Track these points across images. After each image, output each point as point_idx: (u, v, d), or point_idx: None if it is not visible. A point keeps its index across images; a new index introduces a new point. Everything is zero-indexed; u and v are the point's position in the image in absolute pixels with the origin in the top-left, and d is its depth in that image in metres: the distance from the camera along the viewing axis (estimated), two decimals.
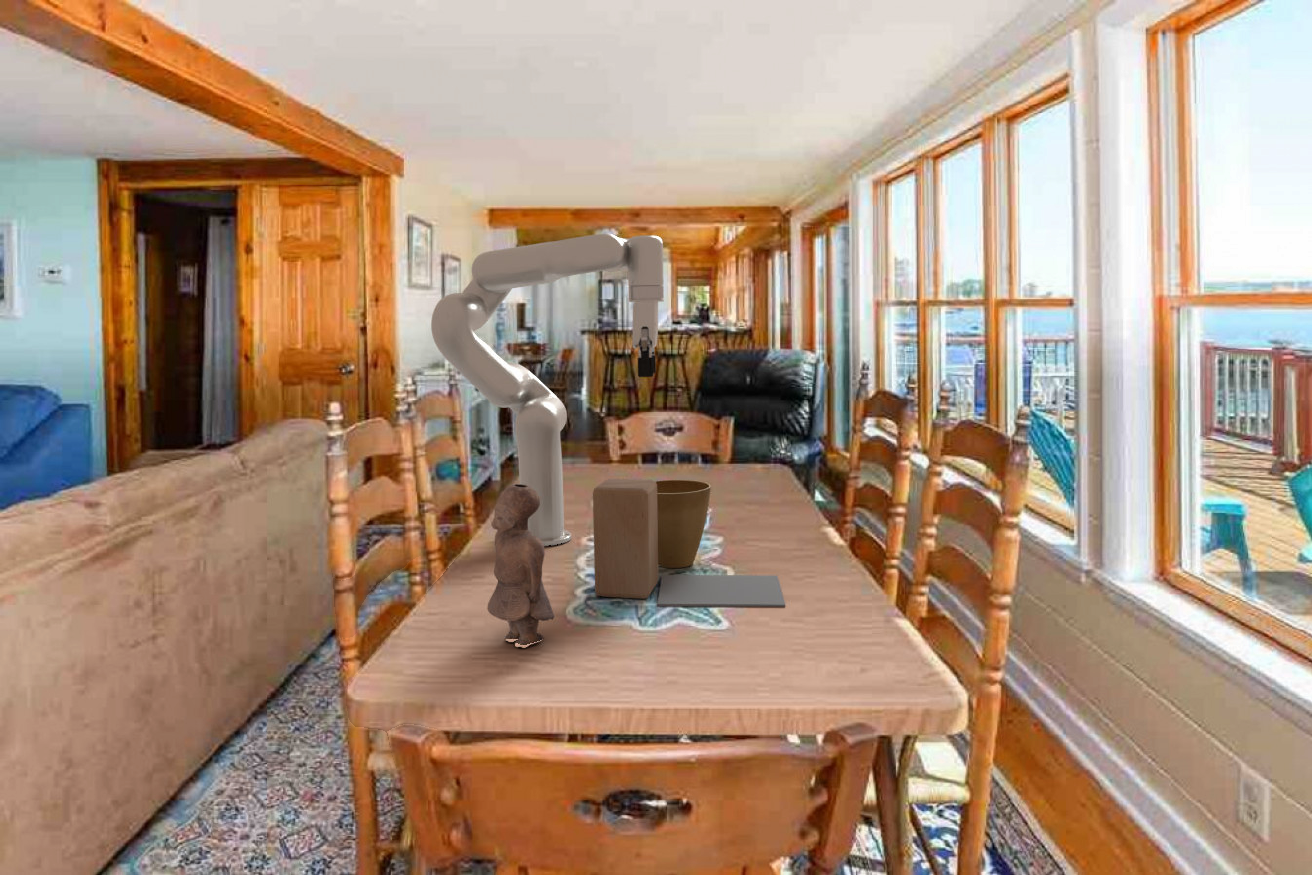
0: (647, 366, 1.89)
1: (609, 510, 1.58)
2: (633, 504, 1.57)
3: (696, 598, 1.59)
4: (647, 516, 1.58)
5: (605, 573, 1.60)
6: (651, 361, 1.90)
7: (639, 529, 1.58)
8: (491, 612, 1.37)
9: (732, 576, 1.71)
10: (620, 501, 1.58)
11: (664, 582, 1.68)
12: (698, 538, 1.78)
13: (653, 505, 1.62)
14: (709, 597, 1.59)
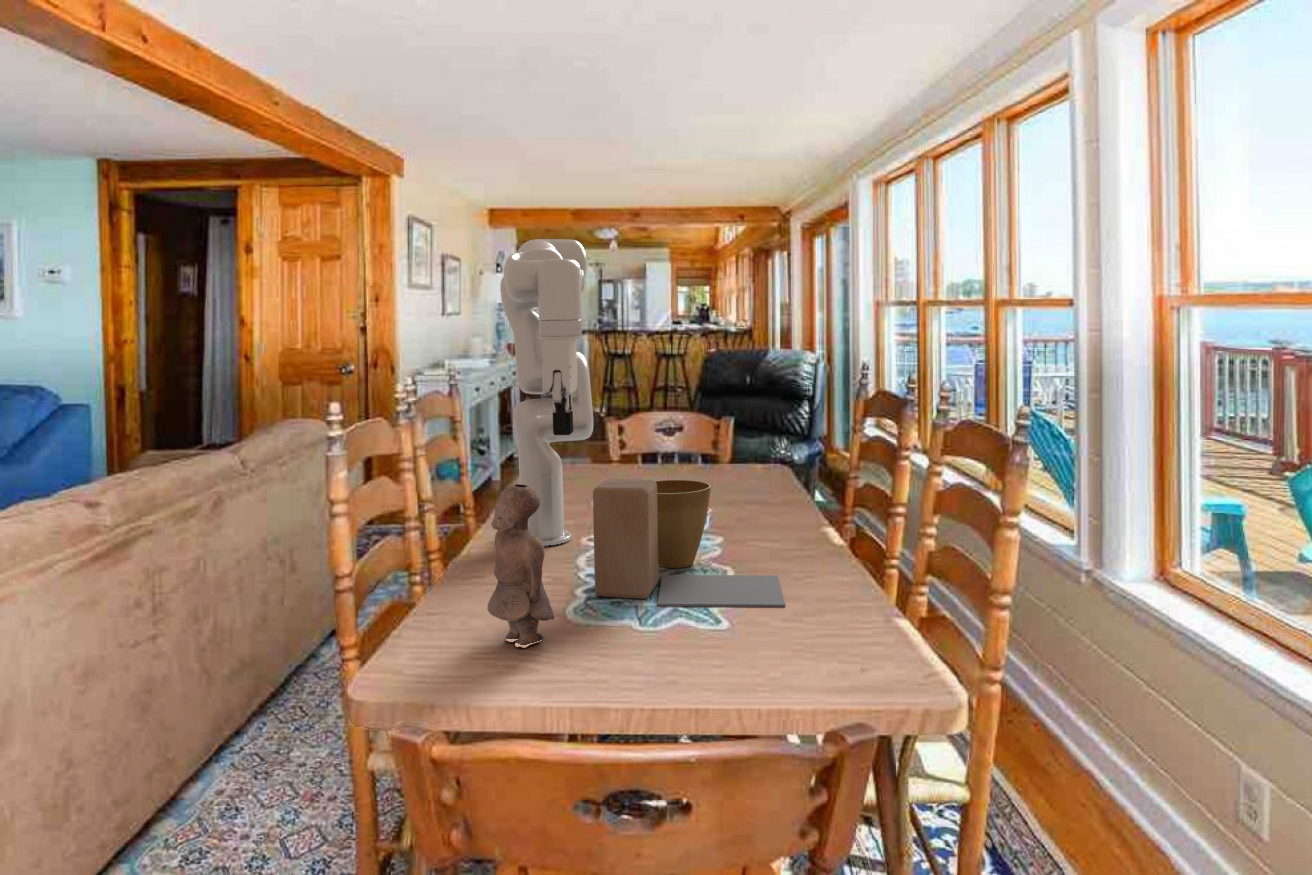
0: (563, 423, 1.59)
1: (609, 510, 1.58)
2: (633, 504, 1.57)
3: (696, 598, 1.59)
4: (647, 516, 1.58)
5: (605, 573, 1.60)
6: (568, 416, 1.60)
7: (639, 529, 1.58)
8: (491, 612, 1.37)
9: (732, 576, 1.71)
10: (620, 501, 1.58)
11: (664, 582, 1.68)
12: (698, 538, 1.78)
13: (653, 505, 1.62)
14: (709, 597, 1.59)
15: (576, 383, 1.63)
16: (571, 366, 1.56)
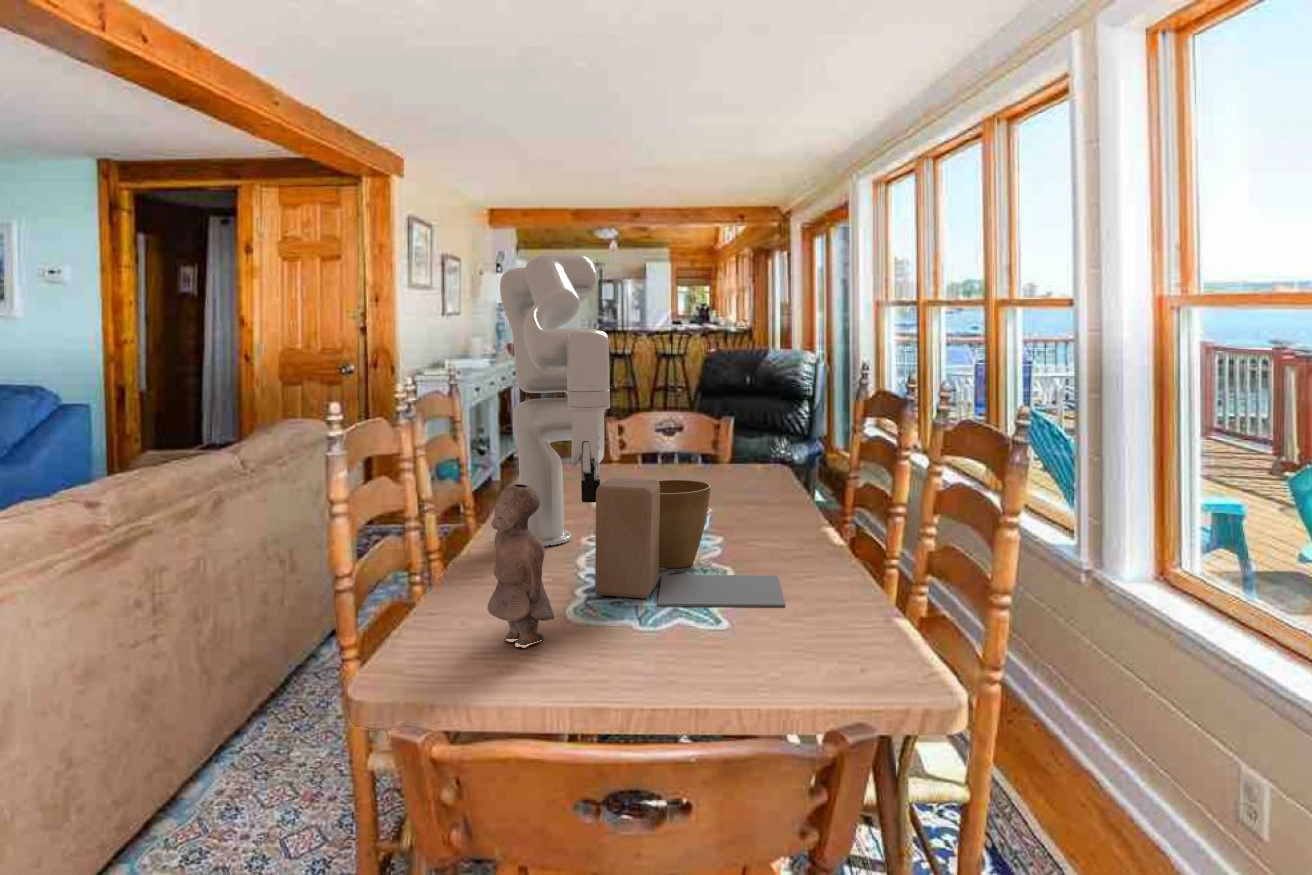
0: (592, 490, 1.61)
1: (611, 508, 1.58)
2: (636, 504, 1.57)
3: (696, 598, 1.59)
4: (650, 516, 1.58)
5: (606, 572, 1.60)
6: (597, 484, 1.62)
7: (641, 529, 1.58)
8: (491, 612, 1.37)
9: (732, 576, 1.71)
10: (623, 500, 1.57)
11: (664, 582, 1.68)
12: (698, 538, 1.78)
13: (656, 505, 1.62)
14: (709, 597, 1.59)
15: None
16: (600, 436, 1.58)
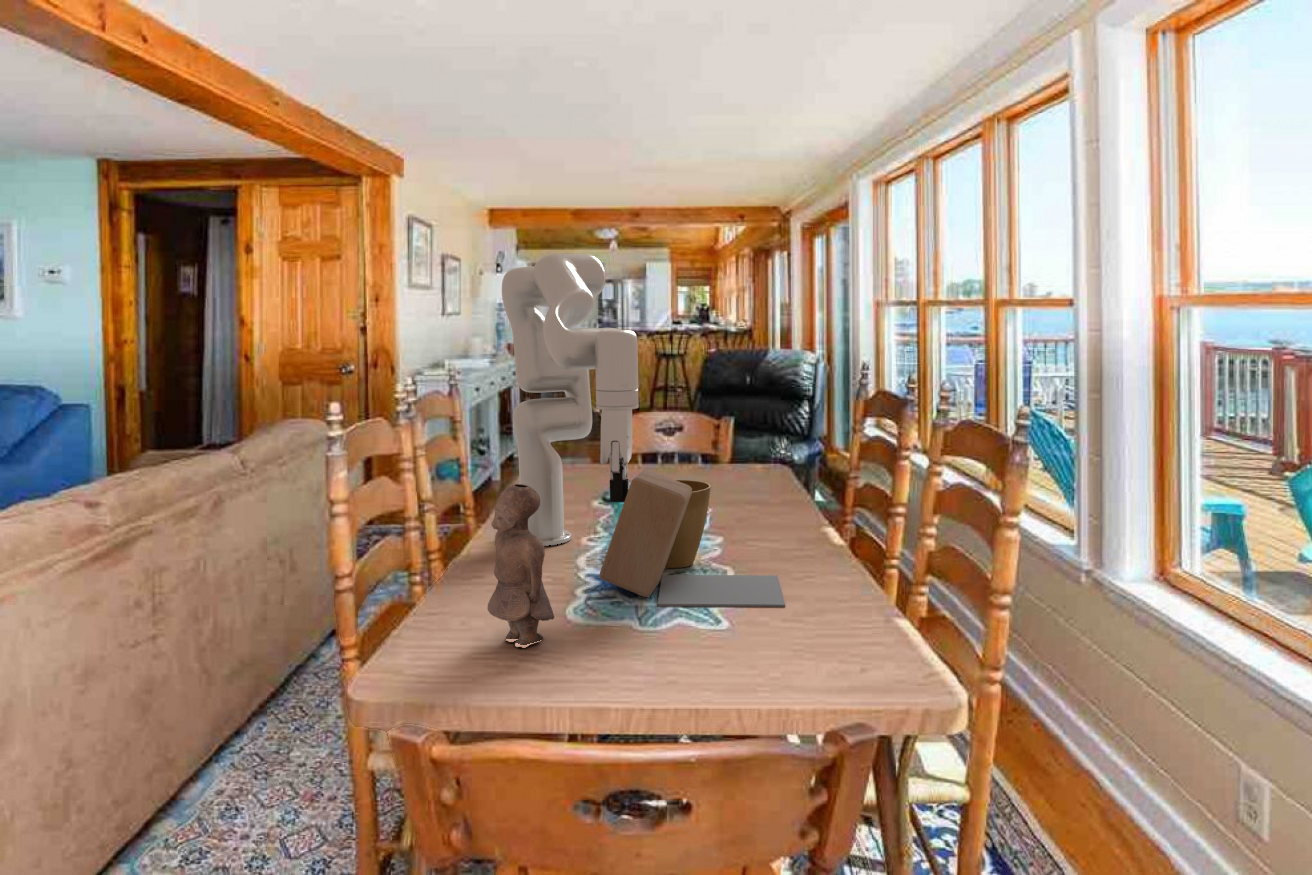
0: (620, 490, 1.61)
1: (642, 503, 1.57)
2: (668, 506, 1.56)
3: (696, 598, 1.59)
4: (676, 522, 1.57)
5: (616, 561, 1.59)
6: (625, 484, 1.61)
7: (664, 532, 1.57)
8: (491, 612, 1.37)
9: (732, 576, 1.71)
10: (656, 499, 1.56)
11: (664, 582, 1.68)
12: (698, 538, 1.78)
13: (683, 511, 1.61)
14: (709, 597, 1.59)
15: None
16: (629, 436, 1.57)
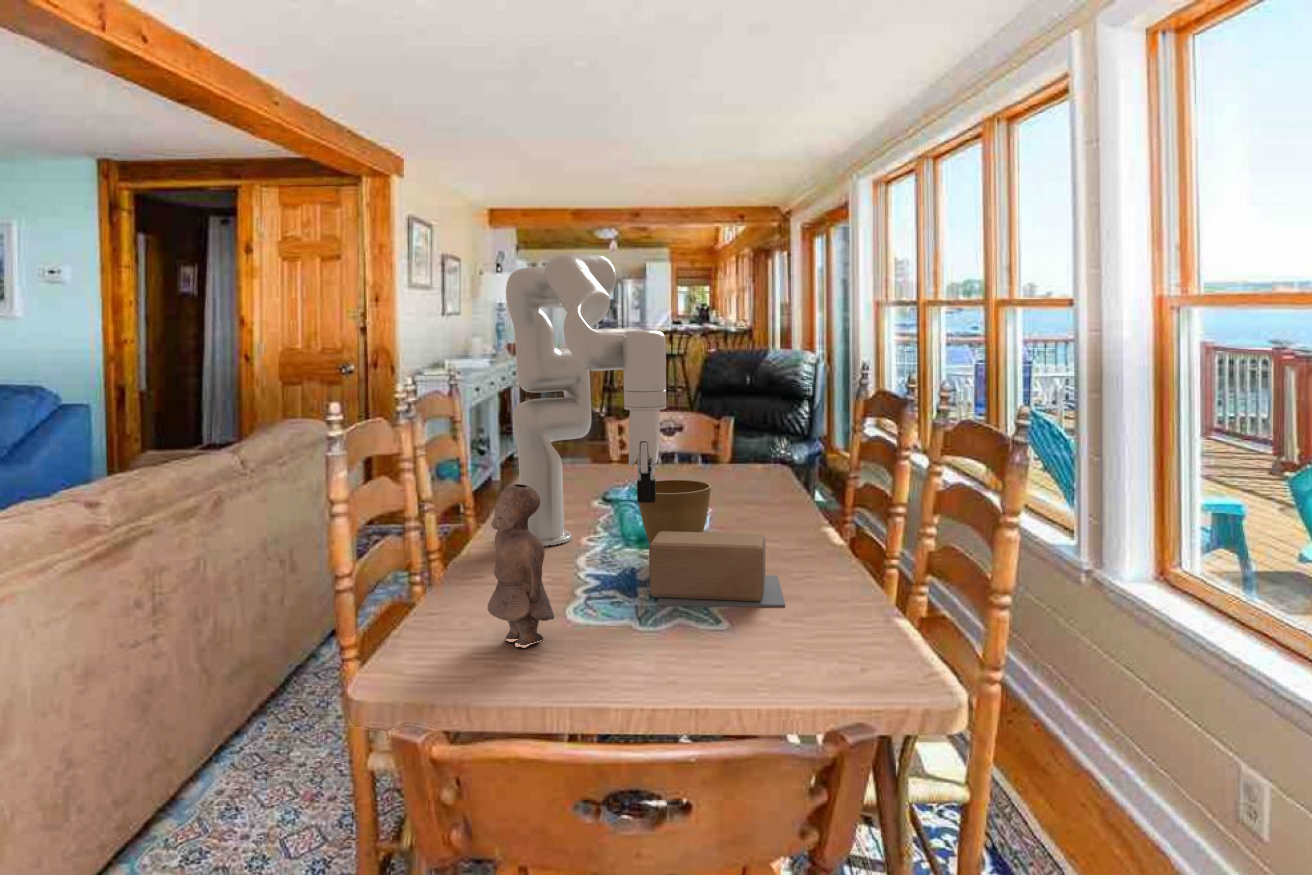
0: (648, 491, 1.61)
1: (740, 564, 1.55)
2: (747, 589, 1.56)
3: None
4: (734, 600, 1.57)
5: (674, 557, 1.57)
6: (653, 484, 1.61)
7: (721, 593, 1.57)
8: (491, 612, 1.37)
9: None
10: (749, 576, 1.55)
11: None
12: None
13: None
14: None
15: None
16: (657, 437, 1.57)
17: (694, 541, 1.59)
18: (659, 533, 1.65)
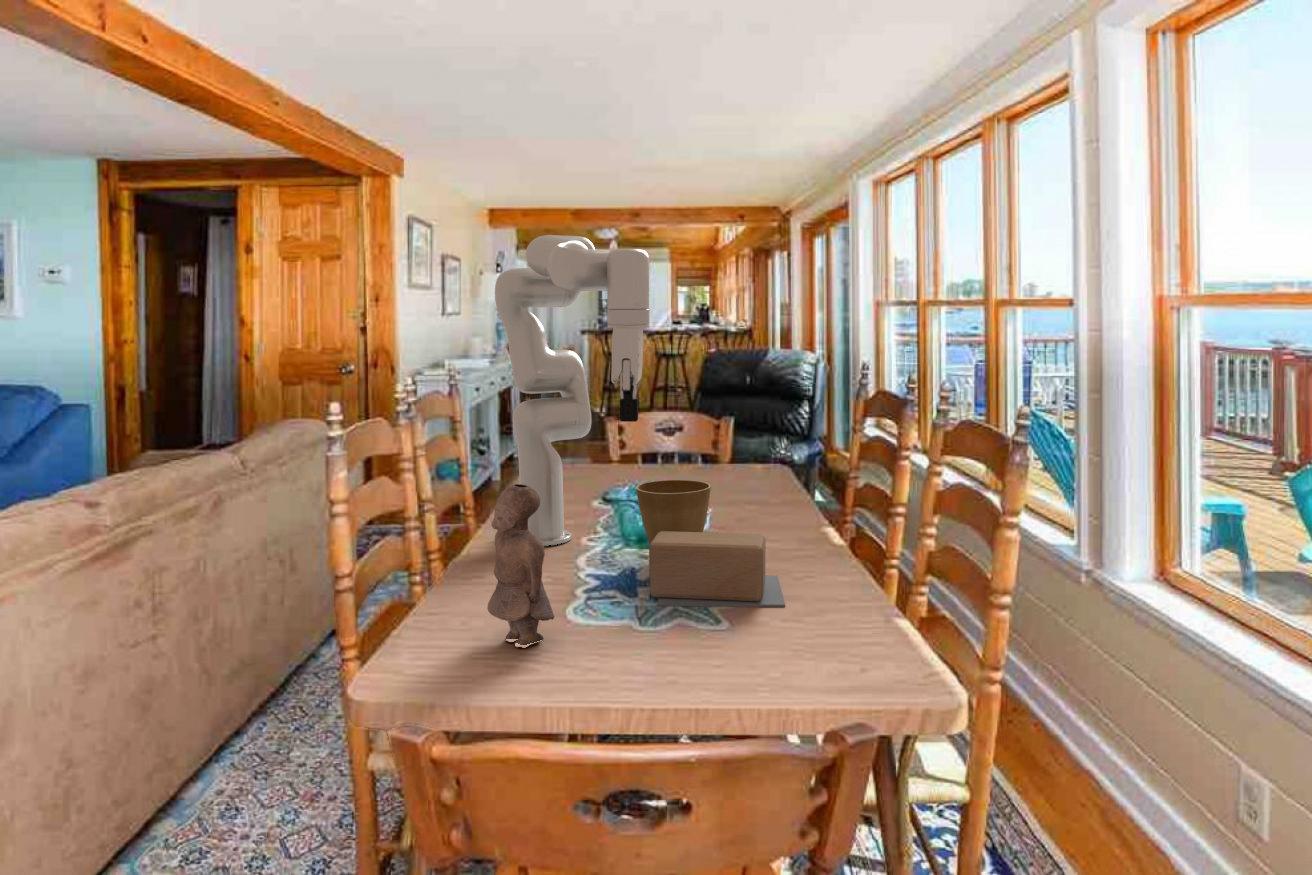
0: (630, 409, 1.63)
1: (740, 564, 1.55)
2: (747, 589, 1.56)
3: None
4: (734, 600, 1.57)
5: (674, 557, 1.57)
6: (635, 403, 1.63)
7: (721, 593, 1.57)
8: (491, 612, 1.37)
9: None
10: (749, 576, 1.55)
11: None
12: None
13: None
14: None
15: None
16: (639, 355, 1.59)
17: (694, 541, 1.59)
18: (659, 533, 1.65)
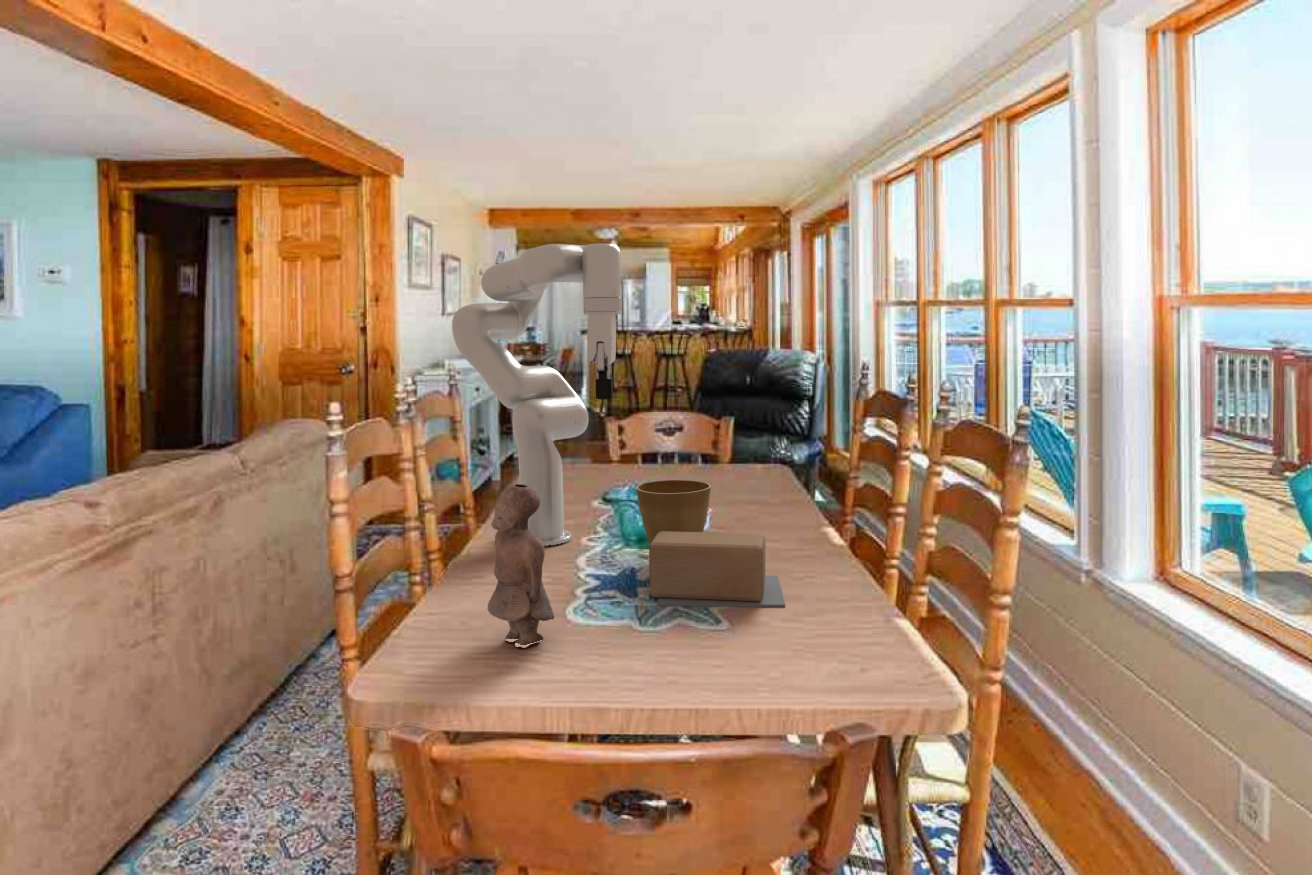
0: (605, 388, 1.81)
1: (740, 564, 1.55)
2: (747, 589, 1.56)
3: None
4: (734, 600, 1.57)
5: (674, 557, 1.57)
6: (609, 383, 1.81)
7: (721, 593, 1.57)
8: (491, 612, 1.37)
9: None
10: (749, 576, 1.55)
11: None
12: None
13: None
14: None
15: (615, 354, 1.84)
16: (612, 338, 1.77)
17: (694, 541, 1.59)
18: (659, 533, 1.65)
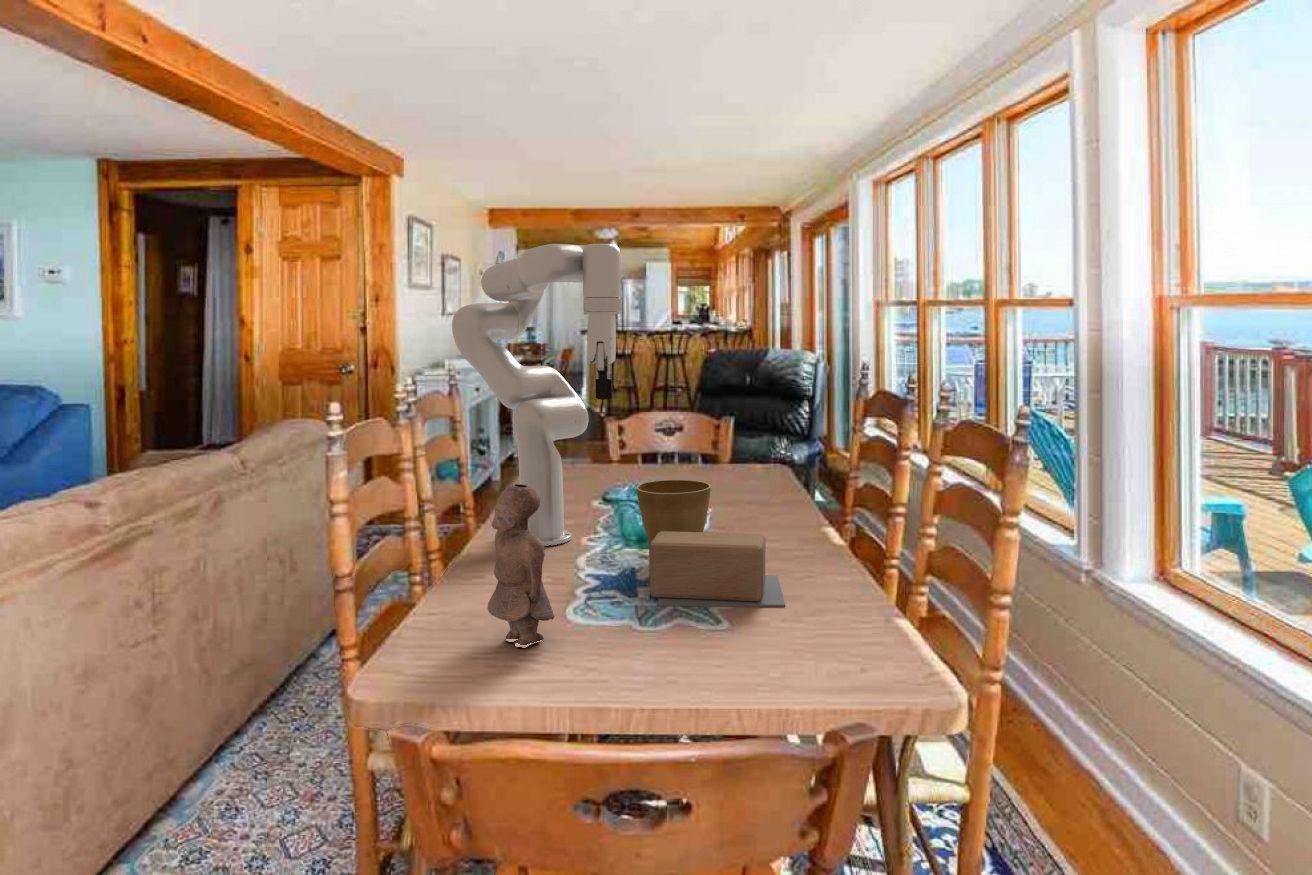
0: (605, 388, 1.81)
1: (740, 564, 1.55)
2: (747, 589, 1.56)
3: None
4: (734, 600, 1.57)
5: (674, 557, 1.57)
6: (609, 383, 1.81)
7: (721, 593, 1.57)
8: (491, 612, 1.37)
9: None
10: (749, 576, 1.55)
11: None
12: None
13: None
14: None
15: (615, 354, 1.84)
16: (612, 338, 1.77)
17: (694, 541, 1.59)
18: (659, 533, 1.65)
